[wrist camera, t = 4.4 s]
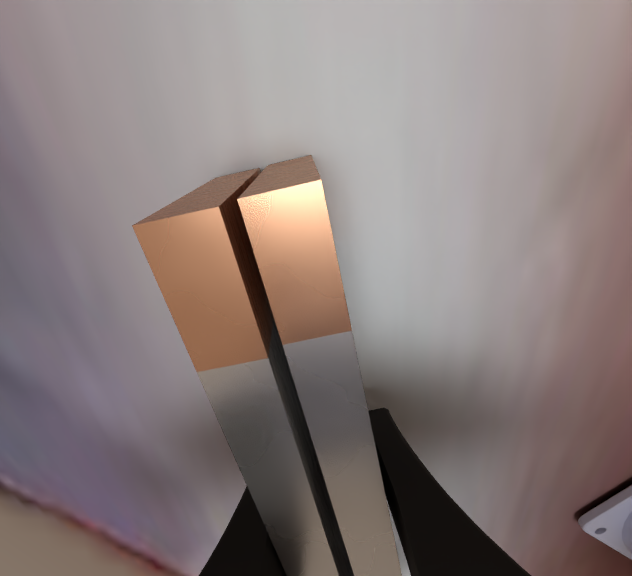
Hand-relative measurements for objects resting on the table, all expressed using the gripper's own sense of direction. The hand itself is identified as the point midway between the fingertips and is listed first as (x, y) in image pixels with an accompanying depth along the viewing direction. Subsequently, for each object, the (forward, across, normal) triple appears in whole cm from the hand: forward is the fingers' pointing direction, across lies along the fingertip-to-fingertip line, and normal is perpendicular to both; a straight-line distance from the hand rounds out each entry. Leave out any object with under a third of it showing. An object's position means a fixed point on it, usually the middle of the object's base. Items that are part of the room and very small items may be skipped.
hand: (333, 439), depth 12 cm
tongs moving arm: (+1, +1, -1) cm, 1 cm away
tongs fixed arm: (+1, 0, +1) cm, 2 cm away
